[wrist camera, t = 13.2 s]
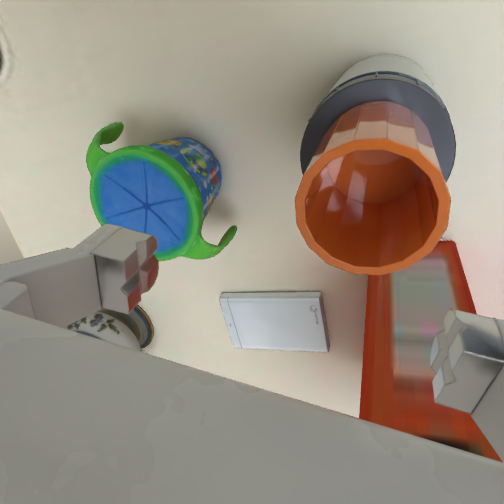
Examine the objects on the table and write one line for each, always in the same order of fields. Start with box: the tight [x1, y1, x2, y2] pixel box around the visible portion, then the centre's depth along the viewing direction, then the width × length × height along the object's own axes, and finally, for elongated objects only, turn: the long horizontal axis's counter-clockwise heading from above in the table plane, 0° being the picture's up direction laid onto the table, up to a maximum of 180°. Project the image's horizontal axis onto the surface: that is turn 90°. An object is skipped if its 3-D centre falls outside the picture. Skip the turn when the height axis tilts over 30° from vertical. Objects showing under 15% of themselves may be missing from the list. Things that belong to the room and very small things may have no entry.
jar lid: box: [300, 72, 456, 182], centre depth 25 cm, size 9×9×2 cm
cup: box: [295, 101, 451, 275], centre depth 20 cm, size 6×6×8 cm
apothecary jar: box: [64, 305, 154, 352], centre depth 51 cm, size 12×12×18 cm
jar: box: [312, 54, 451, 121], centre depth 29 cm, size 9×9×13 cm
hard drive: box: [219, 292, 330, 353], centre depth 49 cm, size 2×8×12 cm
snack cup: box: [86, 122, 237, 261], centre depth 39 cm, size 16×10×10 cm
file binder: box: [359, 241, 503, 462], centre depth 30 cm, size 8×17×32 cm, turn 11°
